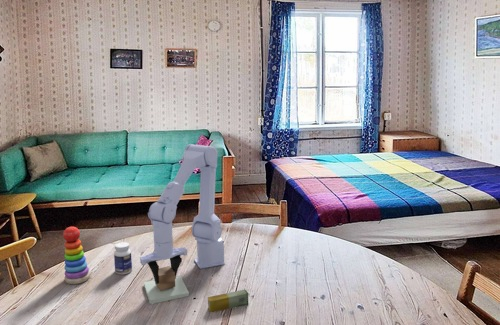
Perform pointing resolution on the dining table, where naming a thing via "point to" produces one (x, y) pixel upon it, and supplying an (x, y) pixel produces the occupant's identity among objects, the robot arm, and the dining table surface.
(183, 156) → the robot arm
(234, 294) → the medication box
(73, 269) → the stacking toy
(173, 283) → the walnut cube
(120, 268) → the pill bottle
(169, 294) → the sage tile
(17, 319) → the dining table surface
